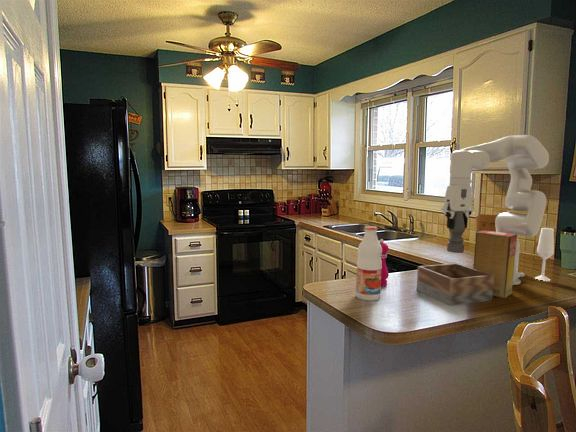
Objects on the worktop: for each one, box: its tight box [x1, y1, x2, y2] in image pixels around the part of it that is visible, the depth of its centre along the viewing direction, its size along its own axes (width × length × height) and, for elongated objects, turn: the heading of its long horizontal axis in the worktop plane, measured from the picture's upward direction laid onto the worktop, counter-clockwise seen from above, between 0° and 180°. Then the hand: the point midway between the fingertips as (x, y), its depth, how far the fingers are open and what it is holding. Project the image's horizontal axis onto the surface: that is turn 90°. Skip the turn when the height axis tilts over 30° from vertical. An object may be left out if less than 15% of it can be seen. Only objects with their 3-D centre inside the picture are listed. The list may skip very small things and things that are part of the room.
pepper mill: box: [379, 238, 390, 287], centre depth 173 cm, size 7×7×20 cm
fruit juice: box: [355, 225, 382, 302], centre depth 155 cm, size 9×9×28 cm
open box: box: [416, 262, 494, 306], centre depth 161 cm, size 20×20×10 cm
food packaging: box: [472, 230, 518, 299], centre depth 164 cm, size 13×9×25 cm
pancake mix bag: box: [474, 213, 499, 235], centre depth 205 cm, size 7×19×28 cm, turn 55°
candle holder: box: [446, 189, 467, 254], centre depth 158 cm, size 6×6×25 cm
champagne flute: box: [534, 227, 555, 282], centre depth 186 cm, size 7×7×24 cm
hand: (456, 227), depth 159 cm, fingers closed on candle holder, 5 cm apart
